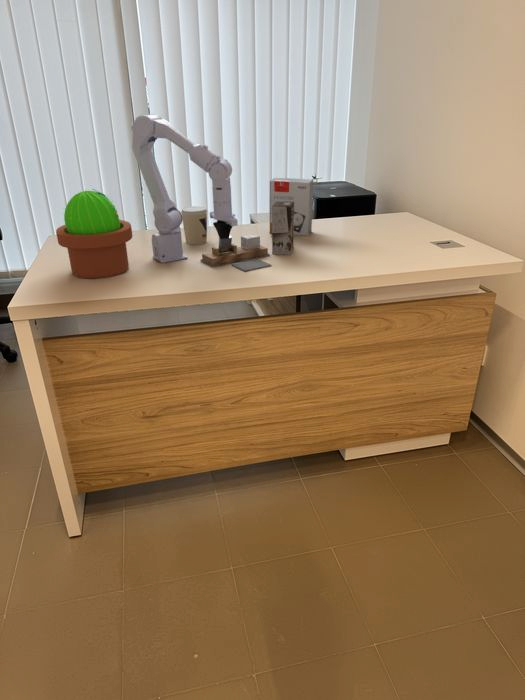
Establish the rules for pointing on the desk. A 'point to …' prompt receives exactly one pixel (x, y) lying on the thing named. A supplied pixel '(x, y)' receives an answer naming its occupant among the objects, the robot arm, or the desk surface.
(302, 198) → the hard drive box
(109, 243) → the potted cactus
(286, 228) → the coffee box
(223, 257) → the body
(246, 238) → the brushed metal cube
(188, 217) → the coffee cup
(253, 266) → the mat
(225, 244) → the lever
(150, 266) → the desk surface
